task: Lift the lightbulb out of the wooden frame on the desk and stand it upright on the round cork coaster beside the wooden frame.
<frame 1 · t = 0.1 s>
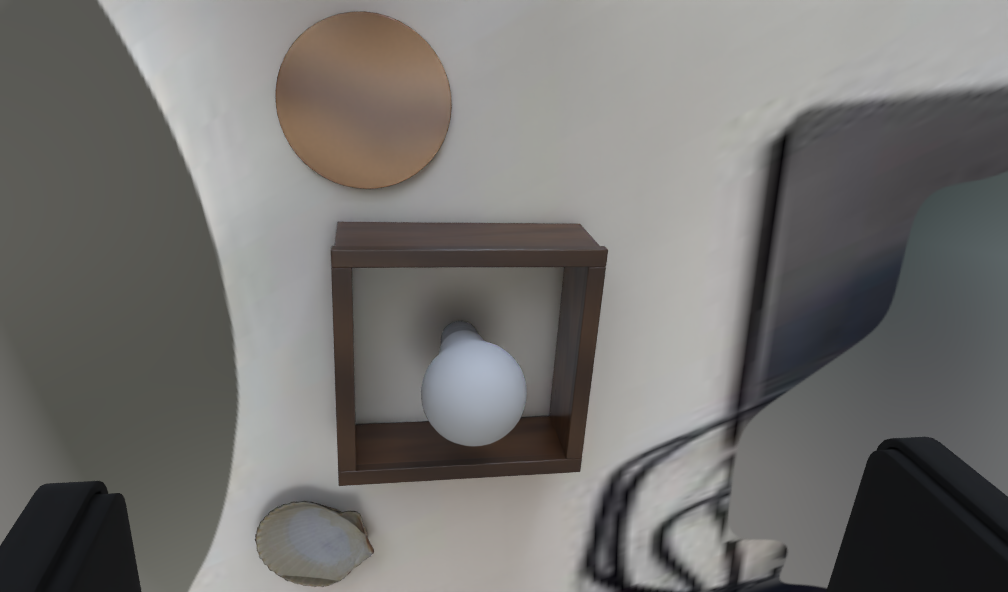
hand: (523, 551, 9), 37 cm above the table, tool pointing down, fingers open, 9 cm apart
lightbulb: (457, 331, 49), resting in wooden frame
coaster: (365, 103, 42), on the table
wooden frame: (458, 332, 49), on the table
seashell: (316, 526, 53), on the table
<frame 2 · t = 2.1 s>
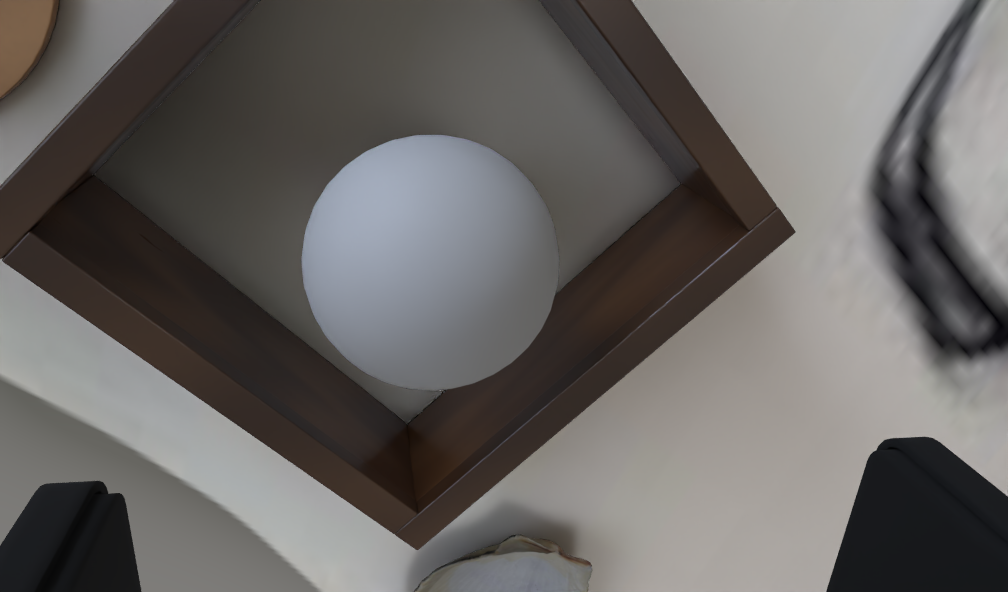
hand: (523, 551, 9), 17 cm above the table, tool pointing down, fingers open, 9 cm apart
lightbulb: (410, 177, 25), resting in wooden frame
wooden frame: (410, 179, 24), on the table
seashell: (498, 573, 33), on the table
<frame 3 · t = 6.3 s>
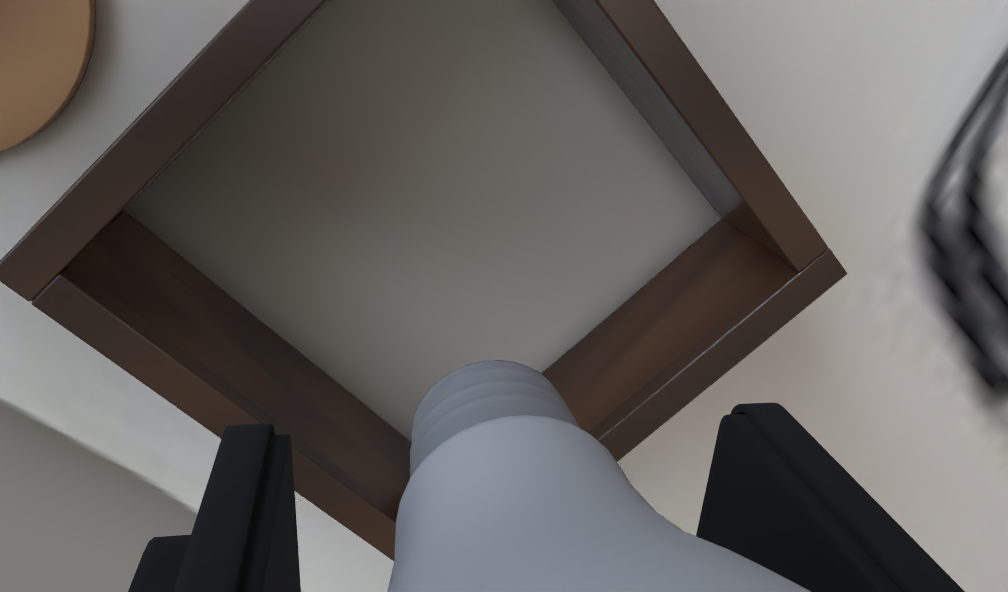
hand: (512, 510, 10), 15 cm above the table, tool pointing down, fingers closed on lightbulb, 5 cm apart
lightbulb: (480, 396, 12), point 12 cm above the table, touching gripper
wooden frame: (443, 214, 24), on the table
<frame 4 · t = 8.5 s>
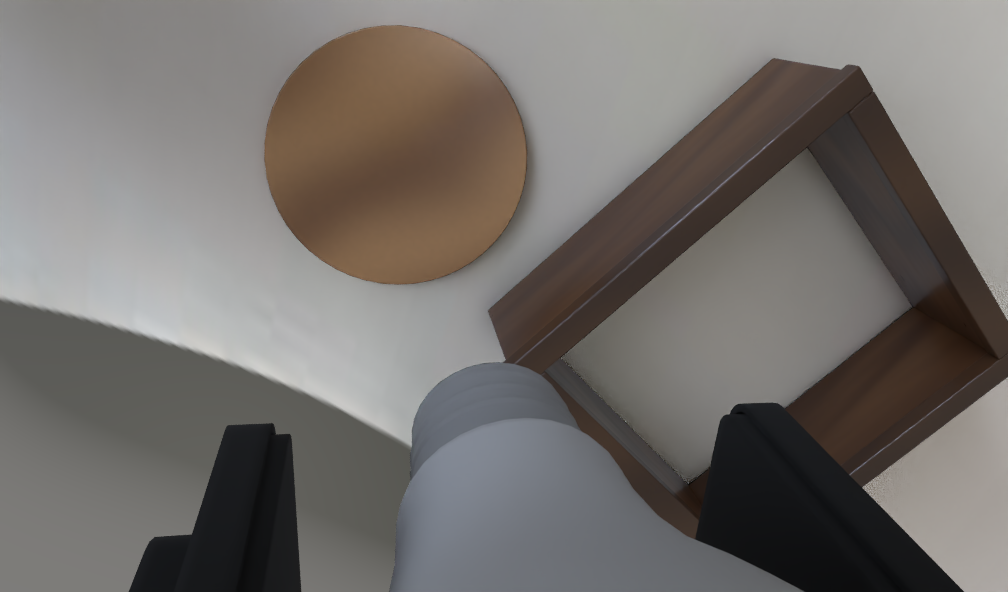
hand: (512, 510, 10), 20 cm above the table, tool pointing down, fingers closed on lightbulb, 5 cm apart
lightbulb: (481, 398, 12), point 17 cm above the table, touching gripper
coaster: (399, 162, 28), on the table
wooden frame: (723, 308, 33), on the table
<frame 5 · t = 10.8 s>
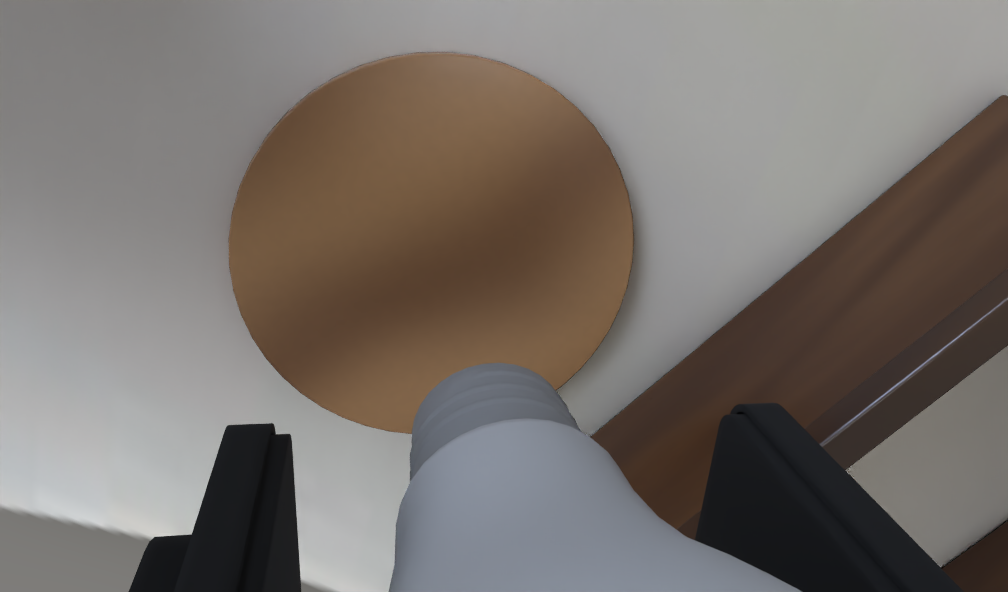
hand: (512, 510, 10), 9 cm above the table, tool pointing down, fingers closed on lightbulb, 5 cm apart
lightbulb: (480, 398, 12), point 6 cm above the table, touching gripper
coaster: (439, 259, 18), on the table
wooden frame: (888, 440, 23), on the table
when the fingers open (3 cm above the table, at t = 12.7 s): lightbulb stays where it is, resting on coaster.
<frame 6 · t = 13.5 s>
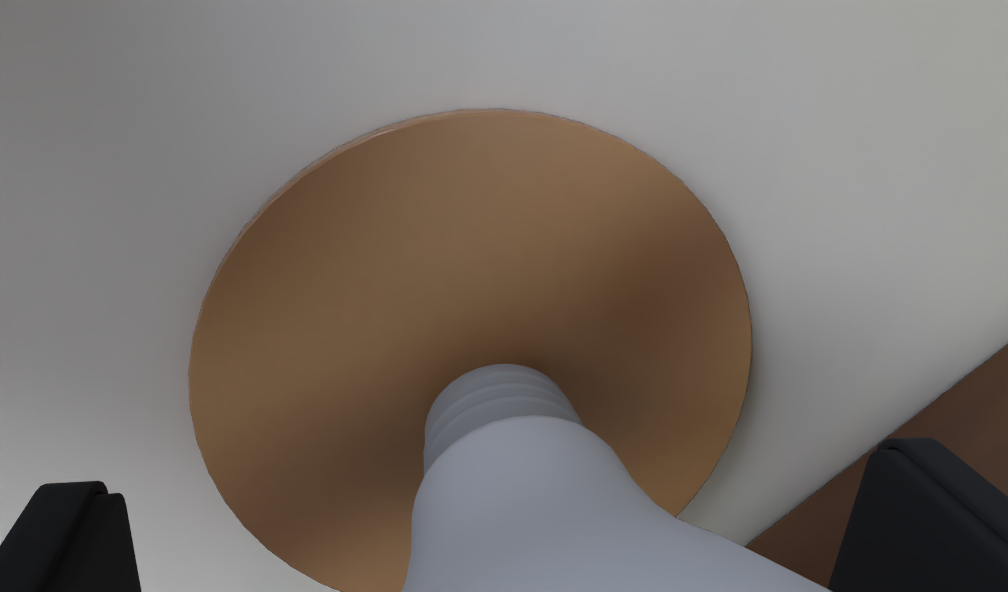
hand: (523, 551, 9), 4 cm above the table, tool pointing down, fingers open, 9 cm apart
lightbulb: (489, 398, 13), resting on coaster
coaster: (484, 387, 13), on the table
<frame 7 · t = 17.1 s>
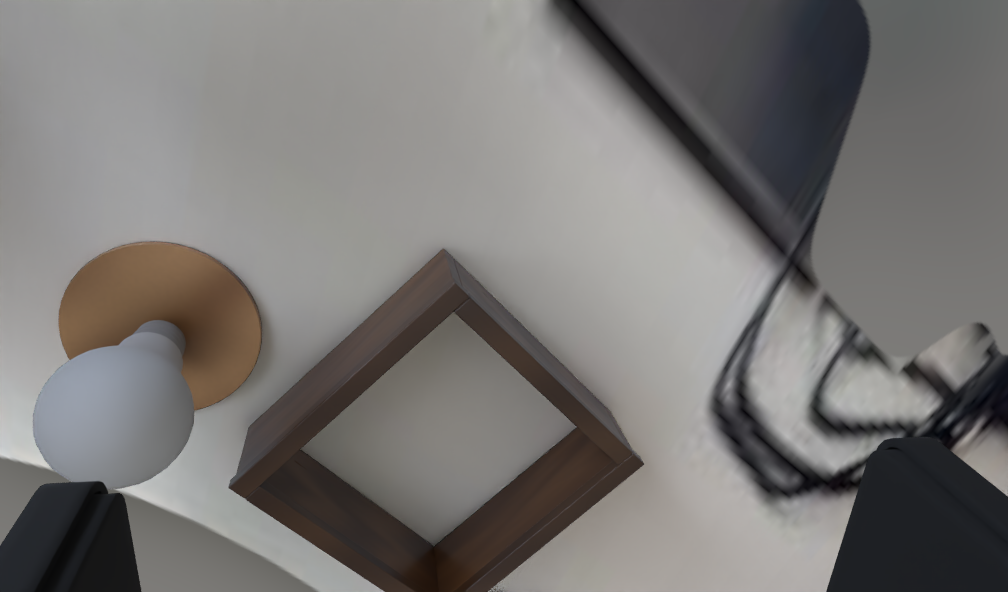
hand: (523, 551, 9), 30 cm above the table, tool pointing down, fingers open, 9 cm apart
lightbulb: (165, 333, 38), resting on coaster
coaster: (164, 329, 38), on the table
wooden frame: (438, 419, 44), on the table
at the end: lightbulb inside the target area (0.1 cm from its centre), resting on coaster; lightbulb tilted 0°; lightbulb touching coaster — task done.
